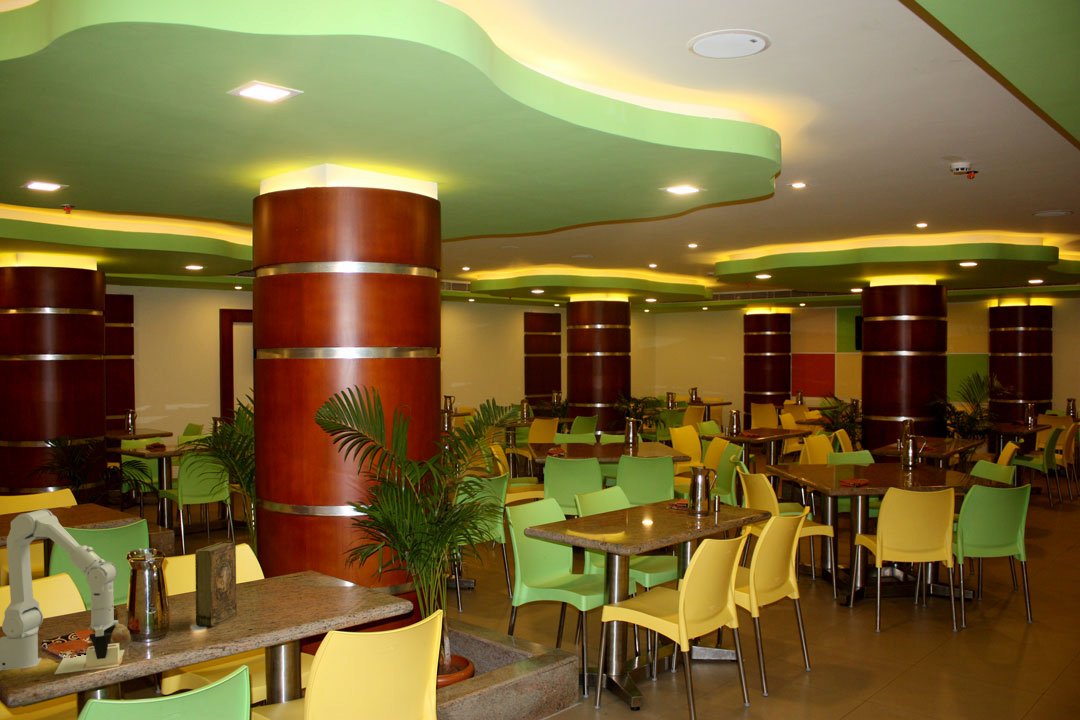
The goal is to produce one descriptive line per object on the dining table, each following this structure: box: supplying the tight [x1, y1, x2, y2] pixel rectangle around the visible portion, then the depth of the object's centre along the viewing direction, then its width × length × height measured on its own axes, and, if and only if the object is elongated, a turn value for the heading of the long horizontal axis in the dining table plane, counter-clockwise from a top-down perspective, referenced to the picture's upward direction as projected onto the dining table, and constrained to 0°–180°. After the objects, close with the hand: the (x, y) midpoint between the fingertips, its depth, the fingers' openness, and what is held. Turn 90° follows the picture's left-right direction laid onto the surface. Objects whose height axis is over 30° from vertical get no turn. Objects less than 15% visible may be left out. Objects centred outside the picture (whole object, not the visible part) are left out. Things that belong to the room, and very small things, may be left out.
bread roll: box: [110, 622, 131, 646], centre depth 264 cm, size 10×10×8 cm
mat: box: [54, 649, 125, 675], centre depth 245 cm, size 16×16×1 cm
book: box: [194, 541, 238, 628], centre depth 287 cm, size 16×6×25 cm, turn 168°
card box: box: [85, 643, 120, 667], centre depth 243 cm, size 4×8×5 cm, turn 111°
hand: (102, 655), depth 243 cm, fingers open, 6 cm apart
